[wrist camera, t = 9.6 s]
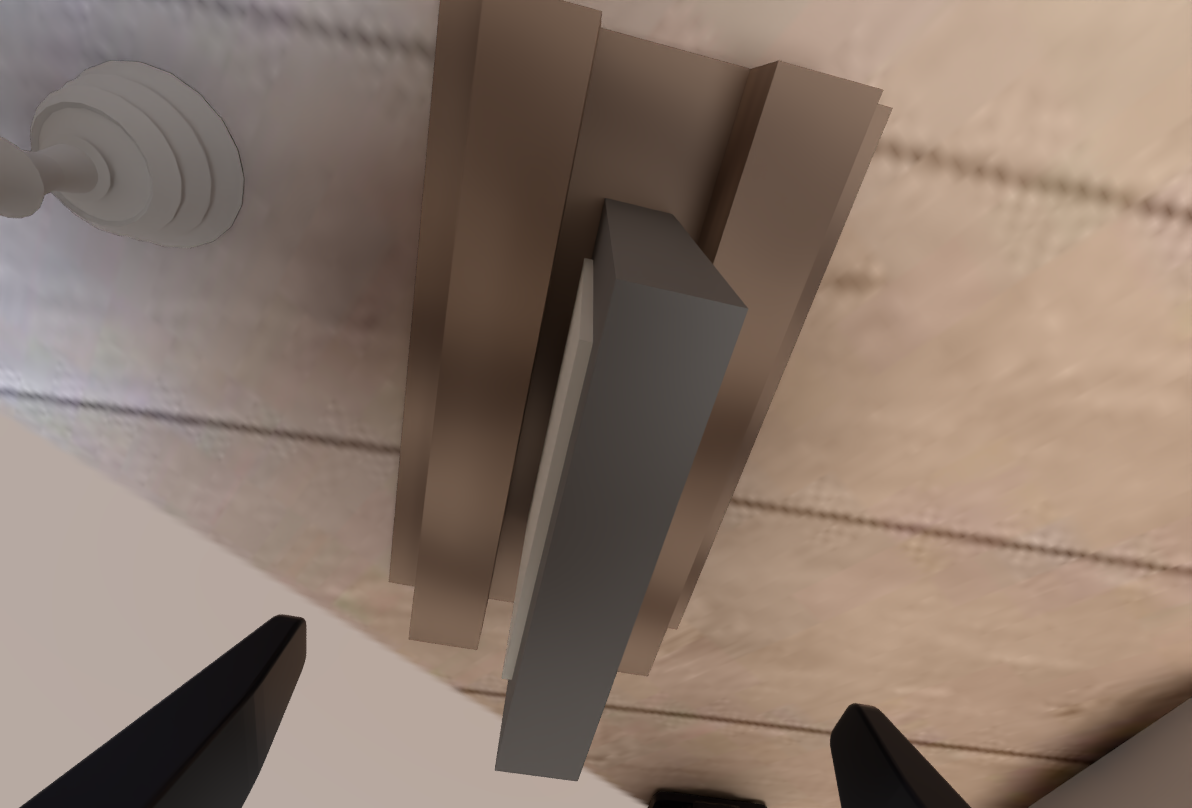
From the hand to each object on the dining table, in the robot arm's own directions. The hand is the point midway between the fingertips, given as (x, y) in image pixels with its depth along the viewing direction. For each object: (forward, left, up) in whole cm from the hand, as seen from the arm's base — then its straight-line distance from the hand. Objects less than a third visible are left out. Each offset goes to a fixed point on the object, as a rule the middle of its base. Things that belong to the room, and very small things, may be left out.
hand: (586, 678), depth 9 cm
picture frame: (0, 0, -11) cm, 11 cm away
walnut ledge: (0, 0, -12) cm, 12 cm away
